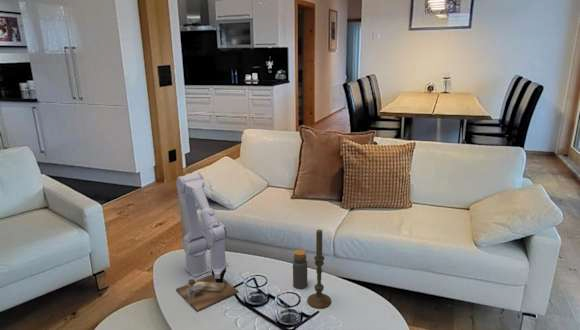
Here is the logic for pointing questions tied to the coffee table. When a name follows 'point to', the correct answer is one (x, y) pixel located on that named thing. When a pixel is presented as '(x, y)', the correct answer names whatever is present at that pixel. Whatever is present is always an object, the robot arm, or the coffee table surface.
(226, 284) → the board
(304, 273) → the bottle
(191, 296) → the keeper
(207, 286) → the link
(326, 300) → the candlestick holder
